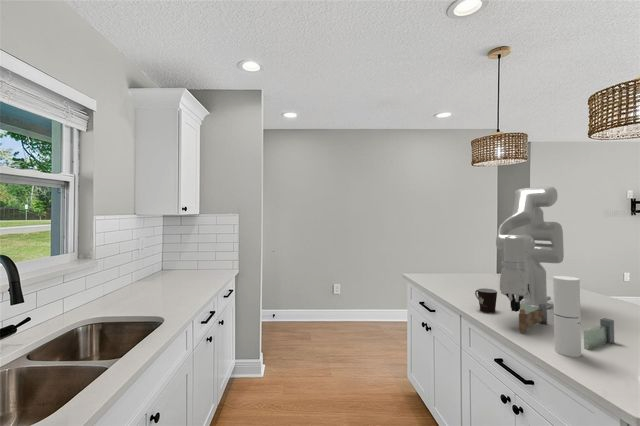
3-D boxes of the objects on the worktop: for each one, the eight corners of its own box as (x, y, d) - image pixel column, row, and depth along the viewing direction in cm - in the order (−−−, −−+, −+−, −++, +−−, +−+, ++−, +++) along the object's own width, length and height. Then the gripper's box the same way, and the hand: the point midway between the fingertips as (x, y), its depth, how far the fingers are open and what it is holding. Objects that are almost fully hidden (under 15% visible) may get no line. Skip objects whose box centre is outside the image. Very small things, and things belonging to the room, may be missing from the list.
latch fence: (604, 339, 119) (604, 318, 119) (614, 342, 116) (613, 320, 116) (581, 347, 112) (581, 324, 112) (591, 350, 110) (590, 326, 110)
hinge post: (522, 316, 146) (522, 299, 146) (548, 324, 136) (548, 305, 136) (518, 317, 145) (518, 299, 145) (544, 325, 135) (544, 305, 135)
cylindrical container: (549, 348, 112) (547, 276, 112) (568, 347, 113) (566, 275, 113) (566, 357, 105) (565, 280, 105) (587, 356, 106) (585, 279, 106)
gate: (538, 322, 137) (537, 301, 137) (543, 323, 135) (543, 302, 135) (518, 331, 127) (518, 309, 127) (524, 332, 125) (523, 310, 125)
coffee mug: (500, 314, 151) (499, 292, 151) (480, 313, 152) (480, 292, 152) (492, 307, 162) (491, 287, 162) (473, 306, 164) (473, 286, 164)
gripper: (491, 264, 137) (492, 308, 136) (530, 269, 125) (531, 316, 124) (500, 263, 141) (501, 305, 141) (539, 267, 129) (539, 313, 128)
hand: (515, 310), depth 132 cm, fingers closed
